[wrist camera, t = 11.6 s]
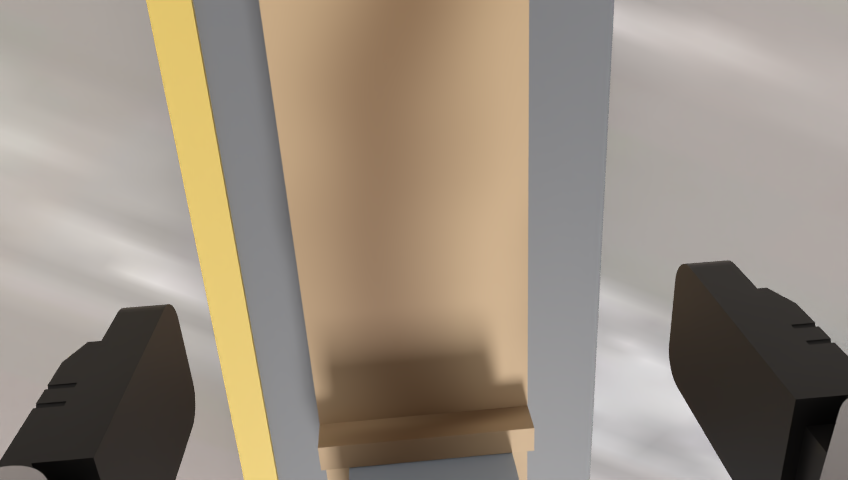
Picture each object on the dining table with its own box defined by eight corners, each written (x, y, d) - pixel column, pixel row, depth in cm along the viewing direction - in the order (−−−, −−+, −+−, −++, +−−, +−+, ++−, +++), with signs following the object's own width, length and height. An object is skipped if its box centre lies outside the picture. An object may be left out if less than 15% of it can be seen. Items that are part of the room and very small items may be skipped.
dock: (607, -595, 19) (651, -680, 16) (569, 456, 33) (589, 511, 30) (66, -576, 18) (11, -660, 15) (266, 484, 33) (257, 543, 30)
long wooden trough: (489, -574, 17) (545, -768, 12) (503, 485, 30) (532, 611, 25) (209, -563, 16) (141, -757, 11) (347, 500, 29) (344, 631, 24)
